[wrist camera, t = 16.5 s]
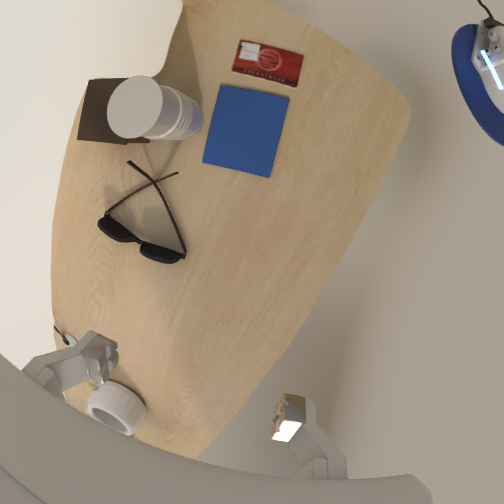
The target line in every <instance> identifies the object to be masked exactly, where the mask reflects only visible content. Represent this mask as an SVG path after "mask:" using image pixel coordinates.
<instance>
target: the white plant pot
mask: <svg viewBox="0 0 504 504" xmlns="http://www.w3.org/2000/svg"><path fill="white" fill-rule="evenodd" d="M85 410H86V412H87V413H89V414H91V416H92V417H93V418H94V419H95V420H97V421H99V422H101V423H103V424H105V425H107V426H109V427H111V428H113V429H115V430H117V431H119V432H121V433H123V434H126V435H128V436H130V435H132V434H133V433H135V432H136V431H137V430H138V428H139V427H140V426H141V425H142V423H143V421H144V420H145V417H146V412H147V411H146V408H145V406H144V404H143V402H142V401H141V399H140V398H139V397H138V396H137V395H136V394H135V393H134V392H132V391H131V390H130V389H128V388H127V387H125V386H123V385H121V384H119V383H116V382H113V381H106V382H105V383H104V385H102V384H100V383H98V384H97V385H95V387H94V389H93V391H92V393H91V395H90V397H89V400H88V402H87V403H86V405H85Z"/></svg>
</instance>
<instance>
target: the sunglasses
mask: <svg viewBox="0 0 504 504" xmlns="http://www.w3.org/2000/svg"><path fill="white" fill-rule="evenodd" d="M127 163H128V164H129V165H130V166H132V167H133V168H134V169H136V170H137V171H138V172H140V173H141V174H142V175H144V176H145V177H146V178H148V179H149V180H150V181H151V183H149V184H147V185H145V186H143V187H141V188H139V189H137V190H136V191H134V192H132V193H131V194H129V195H128V196H126V197H125V198H123V199H122V200H120V201H119V202H117V203H116V204H115V205H113V206H112V207H111V208H109V209H108V210H107V211H106V212H105V214H104V217H103V218H101V219H100V220H99V221H98V224H97V225H98V227H99V229H100V230H101V231H103V232H104V233H105V234H106V235H107V236H109V237H110V238H112V239H114V240H116V241H118V242H137V243H138V244H141V246H140V253H141V254H142V255H143V256H145V257H147V258H149V259H152V260H154V261H158V262H161V263H166V264H173V263H176V262H178V261H179V260H180V259H185V257H186V253H187V251H186V248H185V245H184V243H183V240H182V238H181V235H180V233H179V230H178V228H177V225H176V223H175V220H174V218H173V216H172V213H171V211H170V209H169V207H168V205H167V203H166V200H165V198H164V197H163V195H162V193H161V191H160V189H159V188H158V186H157V184H156V182H158V181H161V180H163V179H166V178H168V177H171V176H173V175H176V174H178V172H174V173H172V174H170V175H167V176H165V177H163V178H161V179H158V180H156V181H154V180H153V179H152V178H151V177H150V176H149V175H148V174H146V173H145V172H144V171H143V170H141V169H140V168H139V167H138V166H136V165H135V164H134V163H133V162H131V161H130V160H129V161H128V162H127ZM151 184H153V185H154V186H155V188H156V189H157V191H158V193H159V195H160V196H161V198H162V200H163V202H164V205H165V207H166V209H167V211H168V213H169V216H170V218H171V221H172V223H173V225H174V228H175V230H176V233H177V235H178V238H179V240H180V243H181V245H182V248H183V253H179V252H176V251H174V250H171V249H168V248H165V247H161V246H158V245H155V244H152V243H149V242H146V241H142V240H140V239H139V238H138V237H136V236H135V235H134V234H133V233H131V232H130V231H129V230H128V229H126V228H125V227H124V226H123V225H121V224H120V223H119V222H117V221H116V220H114V219H113V218H111V217H110V215H108V213H109V211H110V210H111V209H113V208H114V207H115V206H117V205H118V204H119V203H121V202H122V201H124V200H125V199H127V198H128V197H130V196H131V195H133V194H134V193H136V192H138V191H140V190H141V189H143V188H145V187H147V186H149V185H151Z"/></svg>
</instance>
